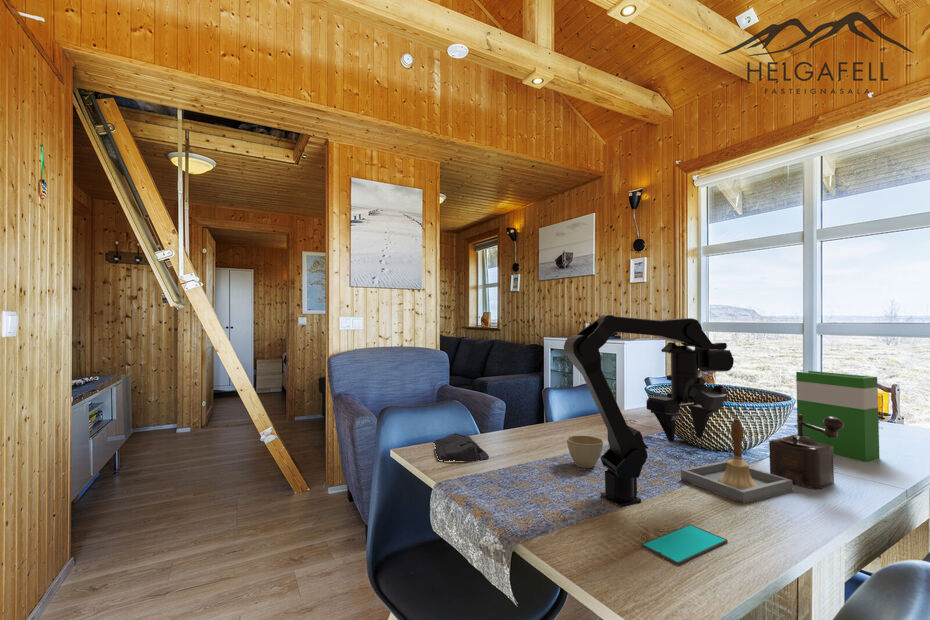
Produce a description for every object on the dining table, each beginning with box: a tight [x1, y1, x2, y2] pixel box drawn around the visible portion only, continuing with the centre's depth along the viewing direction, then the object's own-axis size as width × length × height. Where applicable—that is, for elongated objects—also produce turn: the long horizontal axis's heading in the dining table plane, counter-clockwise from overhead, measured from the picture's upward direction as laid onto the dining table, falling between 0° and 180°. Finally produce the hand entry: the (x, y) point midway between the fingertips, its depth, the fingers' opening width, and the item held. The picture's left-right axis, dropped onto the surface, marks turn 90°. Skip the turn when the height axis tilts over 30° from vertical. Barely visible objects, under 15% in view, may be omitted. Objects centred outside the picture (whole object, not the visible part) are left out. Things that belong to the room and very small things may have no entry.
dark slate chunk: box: [432, 432, 490, 462], centre depth 135 cm, size 15×22×5 cm
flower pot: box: [566, 434, 604, 469], centre depth 122 cm, size 10×10×7 cm
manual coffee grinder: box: [768, 414, 844, 490], centre depth 108 cm, size 16×11×18 cm
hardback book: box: [795, 370, 881, 463], centre depth 134 cm, size 18×7×24 cm, turn 23°
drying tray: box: [680, 460, 794, 505], centre depth 107 cm, size 18×16×2 cm
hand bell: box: [718, 418, 757, 490], centre depth 105 cm, size 8×8×16 cm
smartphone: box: [641, 524, 728, 567], centre depth 78 cm, size 7×1×15 cm
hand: (685, 439), depth 100 cm, fingers open, 9 cm apart
